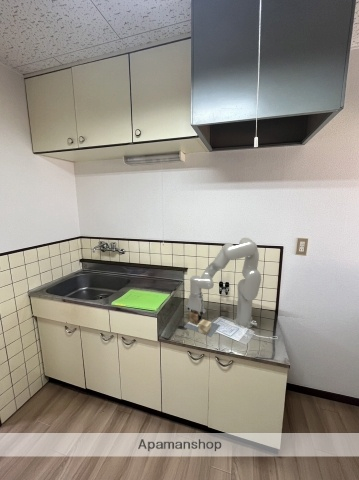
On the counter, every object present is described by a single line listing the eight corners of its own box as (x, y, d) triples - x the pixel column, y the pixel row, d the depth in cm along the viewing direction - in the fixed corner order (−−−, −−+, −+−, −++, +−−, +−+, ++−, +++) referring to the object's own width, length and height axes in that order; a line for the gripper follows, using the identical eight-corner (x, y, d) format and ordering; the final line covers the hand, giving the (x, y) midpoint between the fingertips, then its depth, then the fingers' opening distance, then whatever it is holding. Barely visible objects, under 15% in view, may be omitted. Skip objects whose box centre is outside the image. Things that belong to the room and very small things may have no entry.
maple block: (211, 330, 144) (211, 322, 143) (206, 335, 139) (207, 326, 138) (202, 327, 147) (202, 319, 146) (198, 331, 142) (198, 323, 141)
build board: (220, 326, 149) (220, 325, 149) (210, 338, 137) (210, 337, 137) (194, 317, 160) (194, 316, 160) (183, 327, 148) (183, 326, 148)
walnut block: (201, 319, 154) (201, 311, 152) (197, 323, 149) (197, 315, 147) (193, 317, 157) (193, 309, 156) (189, 321, 152) (189, 313, 151)
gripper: (209, 295, 147) (209, 319, 151) (187, 289, 156) (187, 312, 160) (204, 299, 141) (204, 324, 145) (182, 293, 150) (182, 317, 154)
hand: (195, 318), depth 152 cm, fingers closed on walnut block, 5 cm apart
